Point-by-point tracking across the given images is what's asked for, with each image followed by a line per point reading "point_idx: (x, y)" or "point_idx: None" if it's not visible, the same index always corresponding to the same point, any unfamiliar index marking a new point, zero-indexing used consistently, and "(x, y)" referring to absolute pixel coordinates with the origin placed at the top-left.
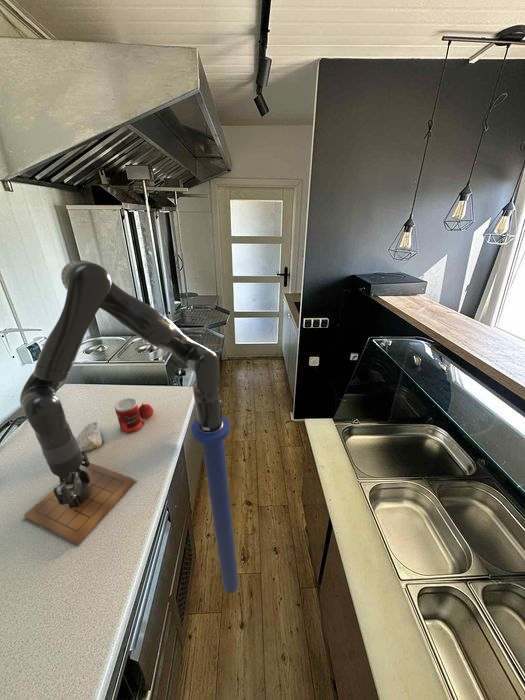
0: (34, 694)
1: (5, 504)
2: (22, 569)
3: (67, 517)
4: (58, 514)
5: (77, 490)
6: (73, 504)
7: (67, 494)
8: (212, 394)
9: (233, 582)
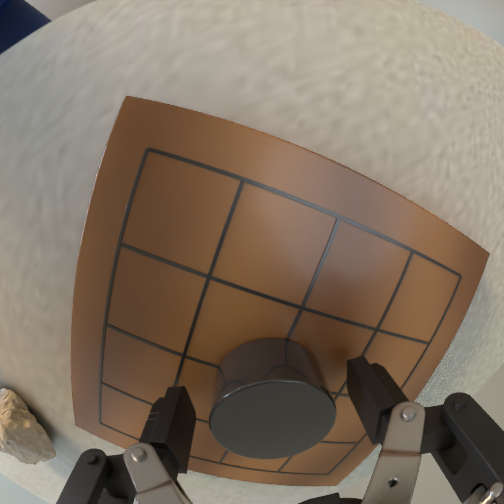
0: None
1: None
2: (482, 366)
3: (389, 368)
4: None
5: (286, 425)
6: (392, 383)
7: (499, 450)
8: None
9: None
